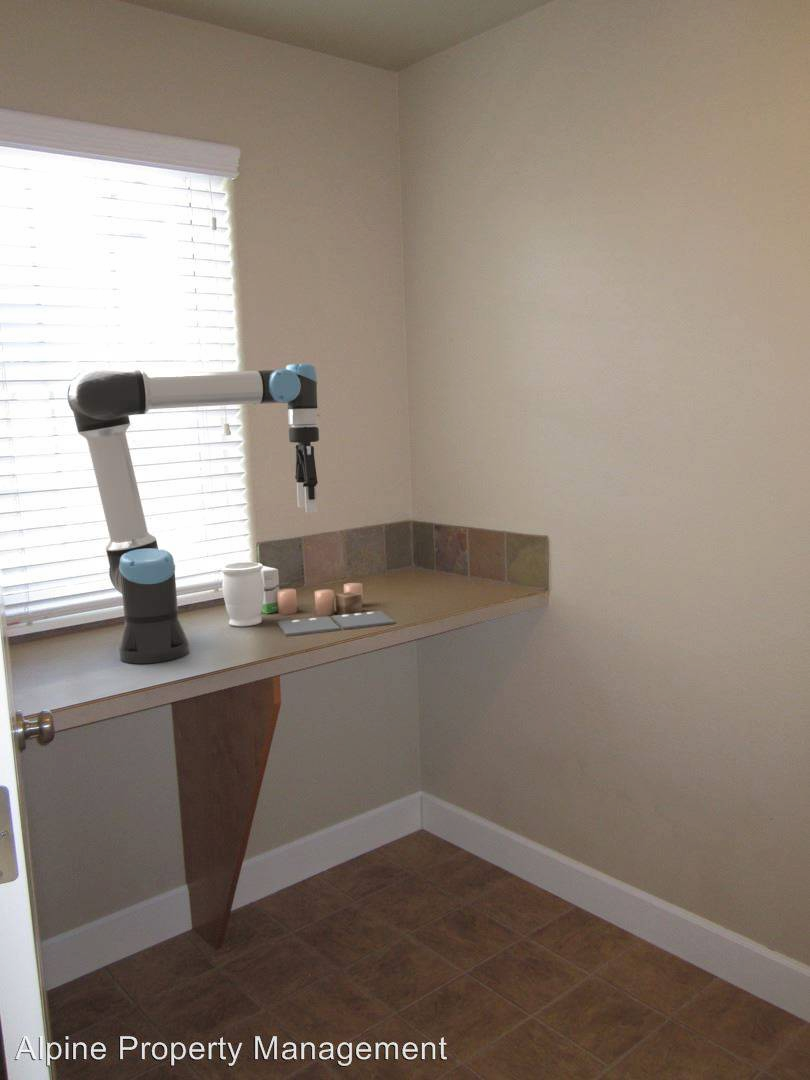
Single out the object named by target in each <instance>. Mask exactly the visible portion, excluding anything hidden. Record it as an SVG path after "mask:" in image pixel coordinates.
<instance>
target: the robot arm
mask: <svg viewBox="0 0 810 1080" xmlns="http://www.w3.org/2000/svg"><path fill="white" fill-rule="evenodd" d="M317 384H318V380H317V369H316V367H315V366H314V364H310V363H296V364H295V363H292V364H291V363H290V364H288V365H286V366H285V368H278V369H268V370H238V371H237V370H235V371H207V372H206V371H205V372H204V371H203V372H202V371H201V372H175V373H171V372H170V373H149V374H148V373H146V372H144V371H143V370H142V369H123V368H122V369H119V368H111V367H103V366H101V367H100V366H99V367H93V368H90V369H87V370H83V371H81V372H79V373H78V374H77V375H75V377H74V378H72V379H71V381H70V383H69V385H68V387H67V388H68V390H67V392H66V394H67V395H66V396H67V402H68V403H67V404H68V406H69V407H70V409H71V411H72V412H73V416H74V420H75V425H76V428H77V434H79V435H80V436H81V437H83V438H85V439H86V441H87V445H88V446H87V447H88V449H89V453H90V454H89V455H90V458H91V462H92V466H93V467H92V468H93V470H94V475H95V479H96V484H97V488H98V493H99V497H100V500H101V501H100V502H101V505H102V509H103V513H104V517H105V521H106V522H105V523H106V526H107V530H108V534H109V538H110V540H109V542H108V543H107V546H106V547H105V552H106V555H107V560H108V564H109V568H108V570H109V572H108V574H109V575H108V576H109V578H110V582H111V584H112V586H113V587H114V589H115V590H117V591H118V592H119V594H121V595H122V603H123V604H122V605H123V614H124V615H123V616H124V626H123V627H124V628H123V631H122V635H121V638H120V643H119V644H120V645H119V648H118V649H119V650H118V653H119V659H120V661H122V662H125V663H130V664H154V663H162V662H167V661H172V660H174V659H175V660H176V659H178V658H180V657H183V656H186V655H187V654H188V653H189V652H190V647H189V646H190V645H189V640H188V638H187V636H186V634H185V633H186V632H185V630H184V628H183V626H182V623H181V622H180V619H179V609H178V598H177V596H178V595H177V584H176V564H175V563H174V561H175V560H174V558H173V557H174V556H173V555H172V554H171V552H169V551H167V550H165V549H159V545H158V542H157V538H156V536H153V535H152V534H151V533H149V532H148V527H147V523H146V519H145V515H144V509H143V506H142V502H141V496H140V492H139V488H138V484H137V479H136V474H135V469H134V465H133V462H132V461H133V460H132V457H131V452H130V447H129V443H128V439H127V434H126V432H127V430H128V429H129V427H130V426H131V421H130V416H136V415H146V414H147V413H148V412H149V411H150V410H159V409H177V408H180V409H181V408H194V407H195V408H196V407H198V408H199V407H215V406H216V407H217V406H219V407H220V406H234V405H236V406H237V405H250V404H251V405H256V404H257V405H258V404H259V405H261V404H263V405H265V404H287V423H288V425H289V426H290V427H289V428H288V440H289V442H290V443H298V444H296V445H295V476H294V478H295V480H296V492H297V493H296V495H297V507H298V508H301V509H302V508H305V513H306V514H312V513H316V514H317V513H318V501H317V500H318V499H317V497H318V496H317V495H318V494H317V485H318V483H319V481H318V476H317V469H316V460H315V448H314V445H311V443H317V442H319V441H320V432H319V427H317V425H319V417H320V416H321V413H320V412H319V411H318V410H319V409H318V407H319V406H318V385H317Z"/></svg>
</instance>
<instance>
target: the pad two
mask: <svg viewBox="0 0 810 1080" xmlns="http://www.w3.org/2000/svg"><path fill="white" fill-rule="evenodd" d="M277 625H278V627H279V628H280V629H281V631H282V632H283V633H284V635H285V637H291V636H298V635H299V636H300V635H307V634H318V633H325V632H335V630H336V631H340V626H338V624H337V623H336V622H335V621H333V619H332V618H331V617H330V616H318V617H311V618H300V619H291V620H283V621H277Z"/></svg>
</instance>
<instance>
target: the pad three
mask: <svg viewBox="0 0 810 1080" xmlns="http://www.w3.org/2000/svg"><path fill="white" fill-rule="evenodd" d="M331 620H332V621H333V620H334V621H333V622H334V623H335V624H336V625H337V626H338V625H339V626H338V627H339V628H341V629H342V628H343V629H345V630H351V629H350V628H353V629H360V628H359V627H362V628H368V627H369V626H371V627H379V625H380V626H387V625H386V624H388V625H394V623H395V620H394V619H392V618H390V617H389V616H388V615H387V614H386V613H384V612H383V611H382V610H375V611H365V612H363V611H362V613H354V614H345V615H341V614H337V615H335V614H334V615H331ZM369 628H370V627H369ZM343 629H342V630H343Z"/></svg>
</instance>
